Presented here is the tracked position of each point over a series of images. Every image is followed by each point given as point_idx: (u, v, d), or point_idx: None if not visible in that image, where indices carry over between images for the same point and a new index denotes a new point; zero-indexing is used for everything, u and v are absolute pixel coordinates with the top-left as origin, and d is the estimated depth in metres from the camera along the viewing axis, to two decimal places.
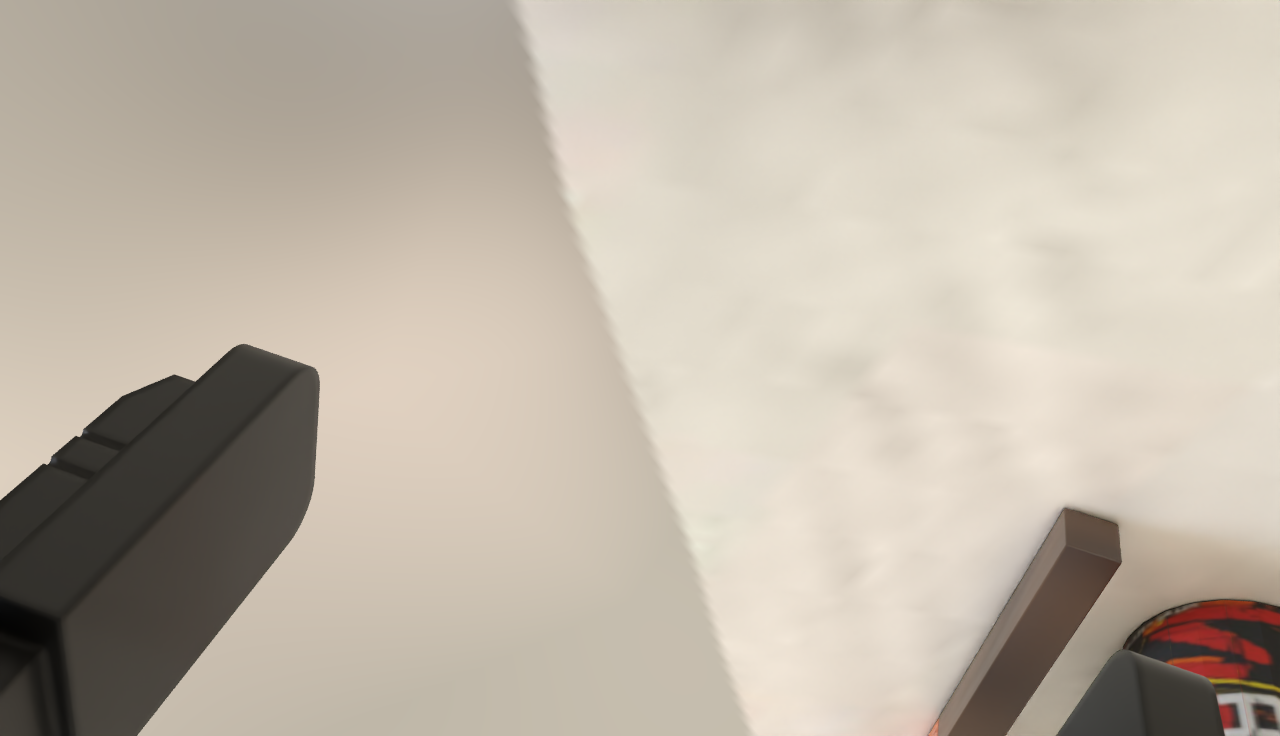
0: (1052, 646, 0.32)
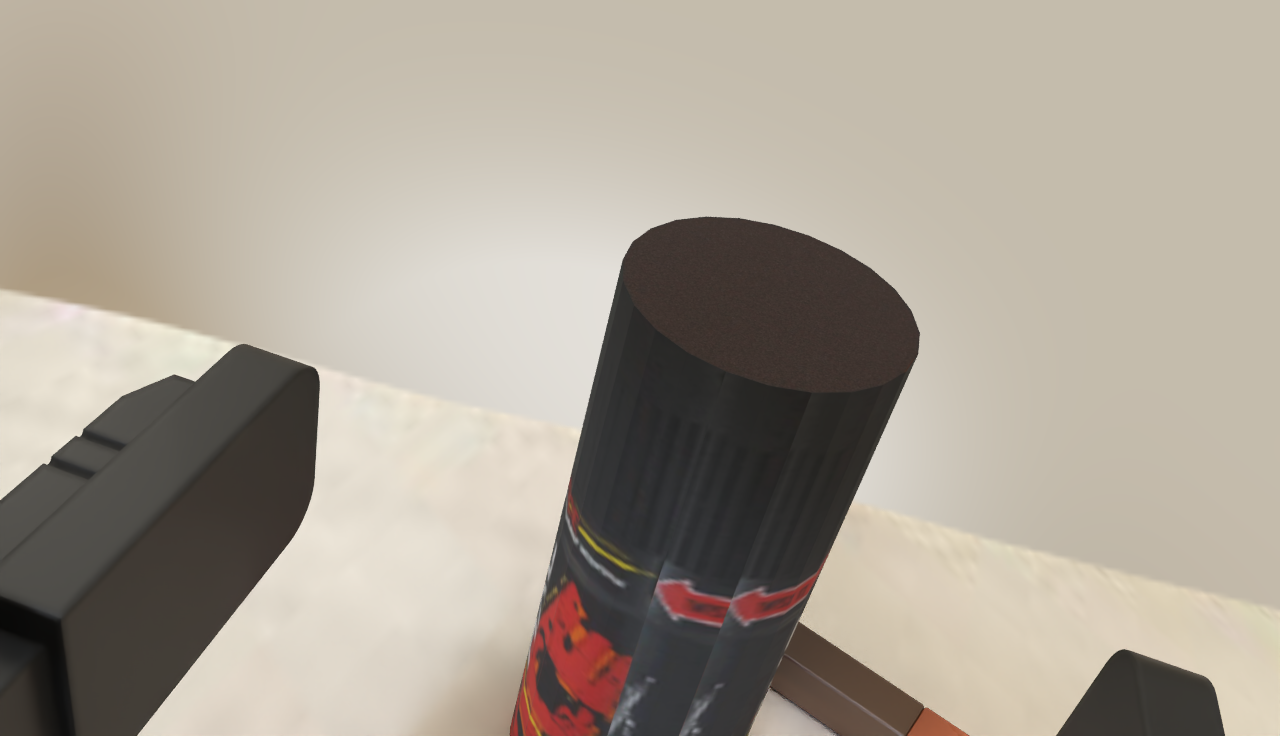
0: None
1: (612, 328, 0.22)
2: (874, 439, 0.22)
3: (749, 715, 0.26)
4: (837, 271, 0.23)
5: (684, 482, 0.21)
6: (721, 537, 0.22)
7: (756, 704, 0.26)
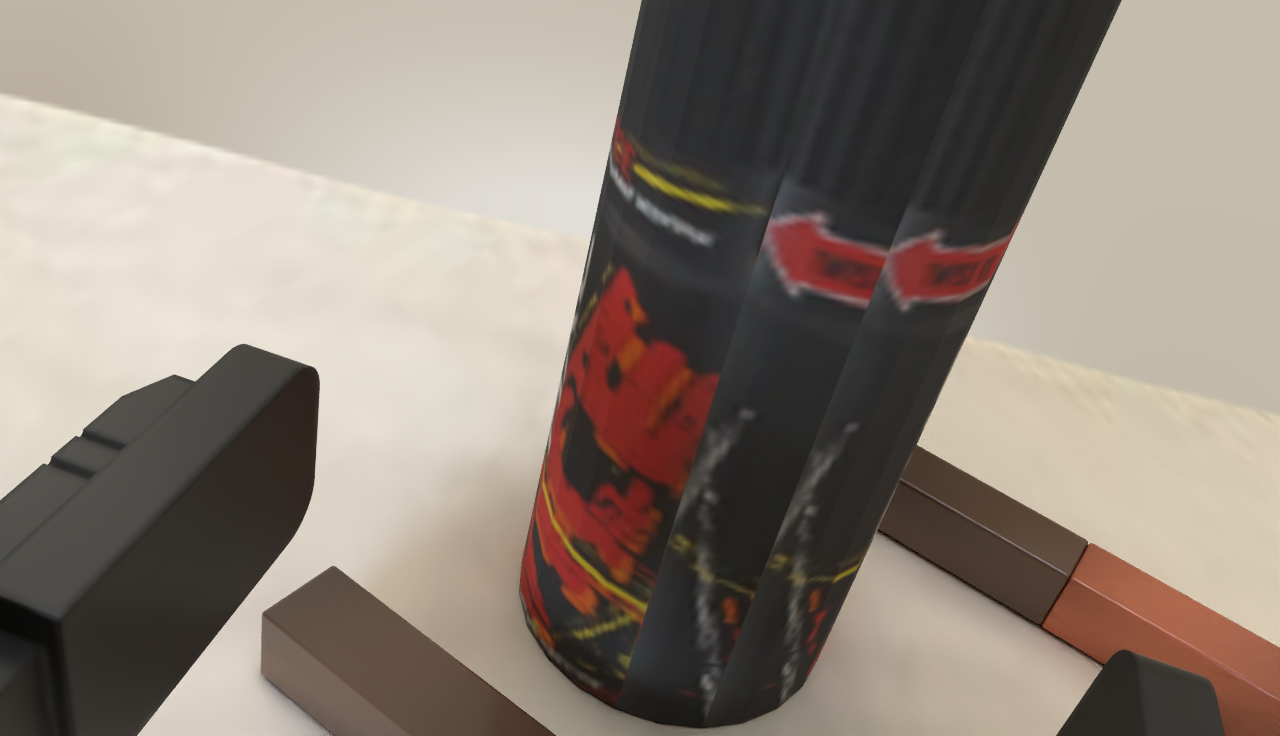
0: (490, 706, 0.17)
1: None
2: None
3: (882, 501, 0.18)
4: None
5: (827, 5, 0.12)
6: (883, 118, 0.13)
7: (893, 483, 0.18)
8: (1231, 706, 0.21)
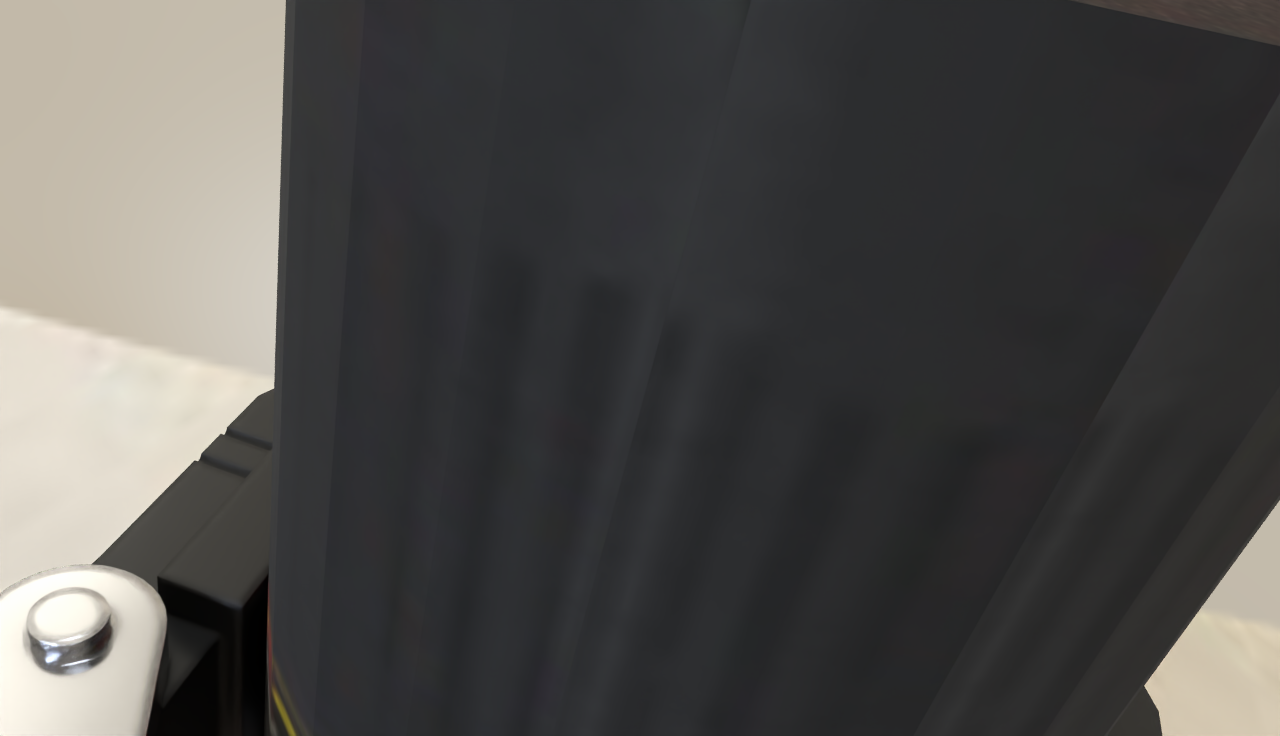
0: None
1: None
2: None
3: None
4: None
5: (574, 571, 0.05)
6: None
7: None
8: None
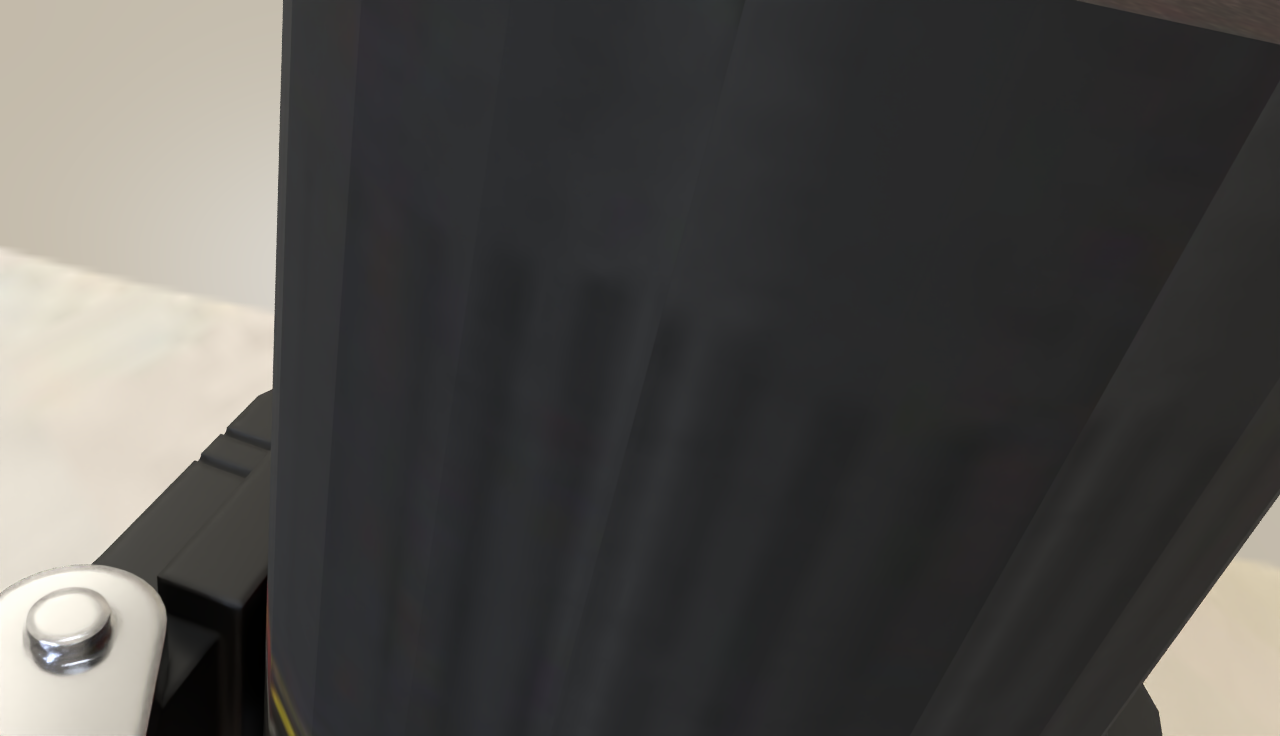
0: None
1: None
2: None
3: None
4: None
5: (572, 570, 0.05)
6: None
7: None
8: None
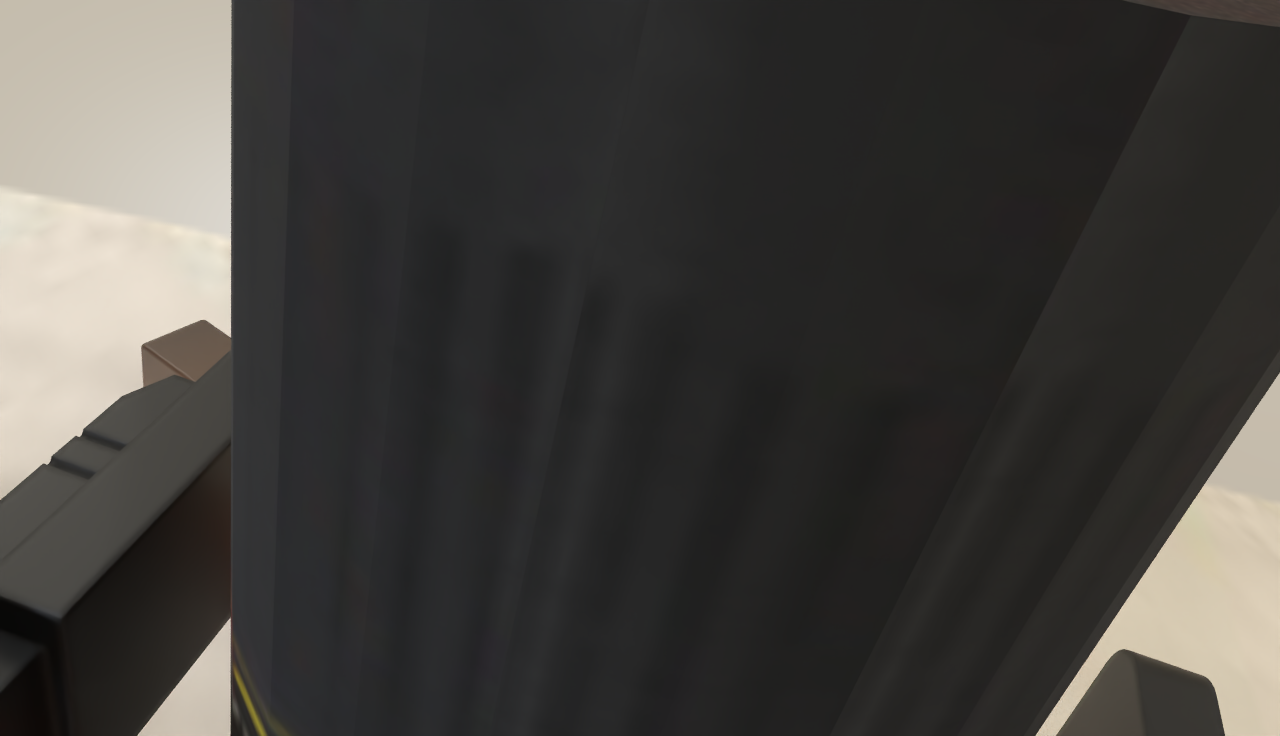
0: None
1: None
2: None
3: None
4: None
5: (511, 538, 0.05)
6: None
7: None
8: None
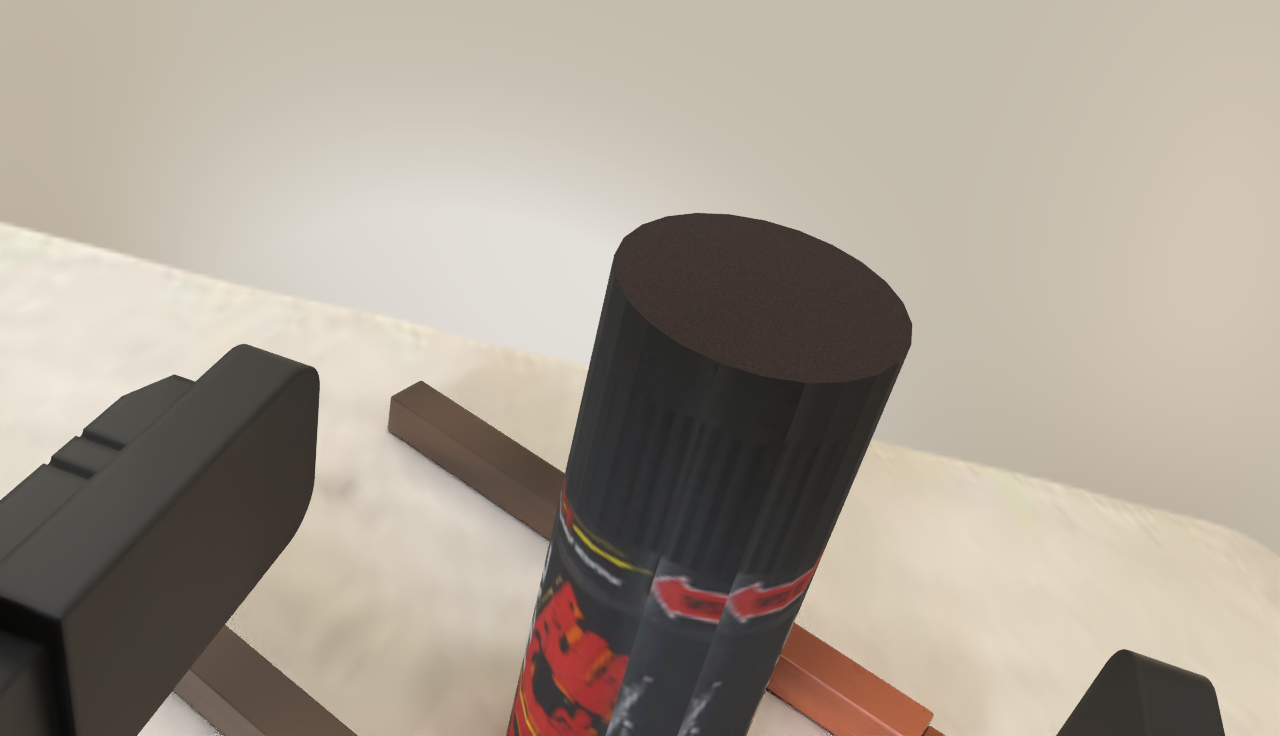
0: None
1: (604, 324, 0.22)
2: (868, 431, 0.22)
3: (747, 715, 0.26)
4: (829, 265, 0.23)
5: (680, 476, 0.21)
6: (717, 532, 0.21)
7: (754, 703, 0.26)
8: None
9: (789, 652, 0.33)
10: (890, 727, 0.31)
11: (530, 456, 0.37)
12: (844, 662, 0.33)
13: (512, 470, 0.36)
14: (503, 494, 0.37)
